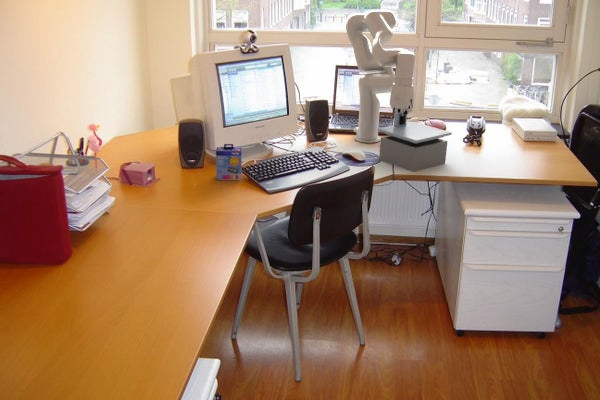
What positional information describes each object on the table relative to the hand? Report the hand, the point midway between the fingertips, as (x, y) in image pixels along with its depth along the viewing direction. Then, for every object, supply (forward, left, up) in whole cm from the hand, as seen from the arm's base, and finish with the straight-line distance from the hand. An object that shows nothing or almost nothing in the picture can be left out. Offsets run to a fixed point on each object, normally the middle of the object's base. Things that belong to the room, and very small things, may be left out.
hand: (400, 123), depth 289 cm
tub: (+9, 0, -15) cm, 17 cm away
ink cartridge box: (-17, -77, -15) cm, 80 cm away
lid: (+9, 0, -3) cm, 9 cm away
